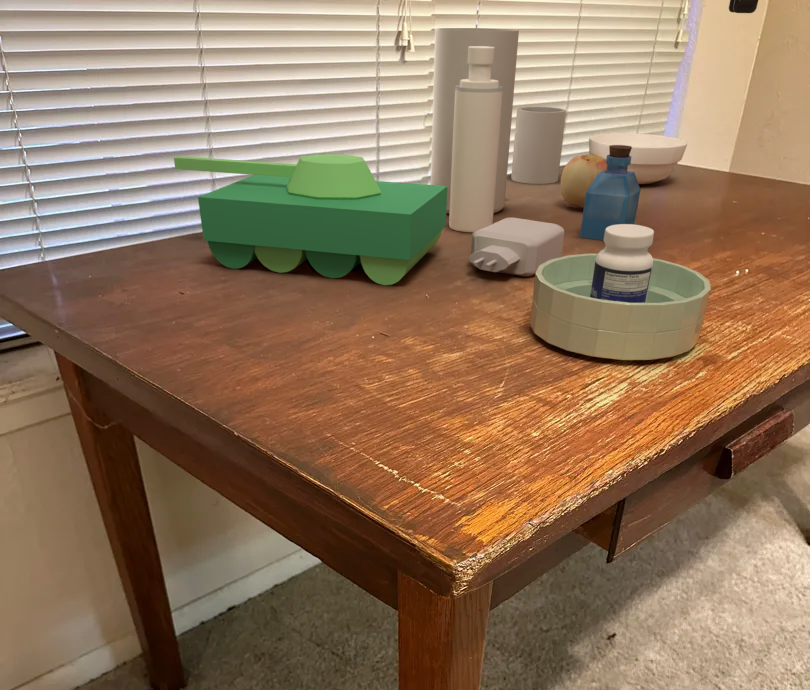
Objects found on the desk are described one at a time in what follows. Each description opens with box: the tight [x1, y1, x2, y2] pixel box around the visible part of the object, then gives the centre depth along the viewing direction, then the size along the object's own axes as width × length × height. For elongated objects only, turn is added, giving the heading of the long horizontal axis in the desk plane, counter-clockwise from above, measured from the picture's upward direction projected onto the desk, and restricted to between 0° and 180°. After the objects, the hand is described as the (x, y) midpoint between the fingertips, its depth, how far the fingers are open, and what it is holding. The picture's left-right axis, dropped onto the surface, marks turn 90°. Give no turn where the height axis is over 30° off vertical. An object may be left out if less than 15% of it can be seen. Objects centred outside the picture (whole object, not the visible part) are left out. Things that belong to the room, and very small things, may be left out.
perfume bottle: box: [579, 145, 641, 242], centre depth 110 cm, size 6×6×12 cm
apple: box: [560, 153, 607, 208], centre depth 126 cm, size 9×9×8 cm
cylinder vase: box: [430, 27, 520, 215], centre depth 120 cm, size 12×12×25 cm
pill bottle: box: [590, 224, 655, 303], centre depth 77 cm, size 6×6×10 cm
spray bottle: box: [448, 46, 503, 234], centre depth 109 cm, size 7×7×25 cm
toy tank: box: [173, 153, 447, 286], centre depth 99 cm, size 18×12×35 cm
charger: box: [468, 216, 565, 278], centre depth 97 cm, size 5×9×15 cm
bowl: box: [588, 132, 688, 185], centre depth 146 cm, size 18×18×7 cm
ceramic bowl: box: [529, 253, 712, 361], centre depth 78 cm, size 17×17×6 cm
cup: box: [510, 106, 567, 185], centre depth 145 cm, size 9×9×12 cm
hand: (740, 12), depth 80 cm, fingers open, 8 cm apart
